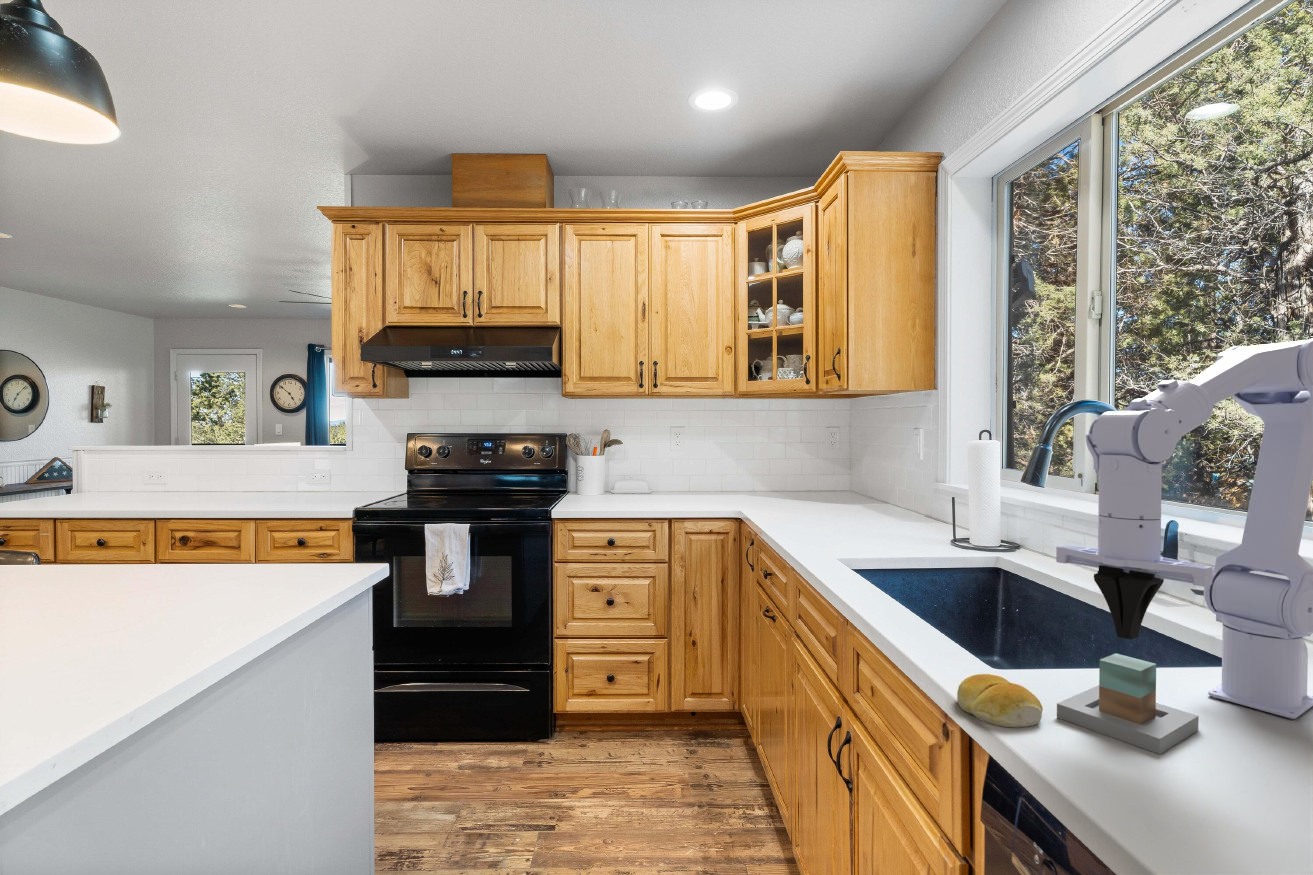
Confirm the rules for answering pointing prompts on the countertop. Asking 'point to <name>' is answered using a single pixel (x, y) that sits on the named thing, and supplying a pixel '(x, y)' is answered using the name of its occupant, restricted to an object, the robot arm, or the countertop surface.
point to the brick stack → (1127, 688)
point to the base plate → (1129, 722)
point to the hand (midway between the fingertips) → (1127, 636)
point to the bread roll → (999, 701)
